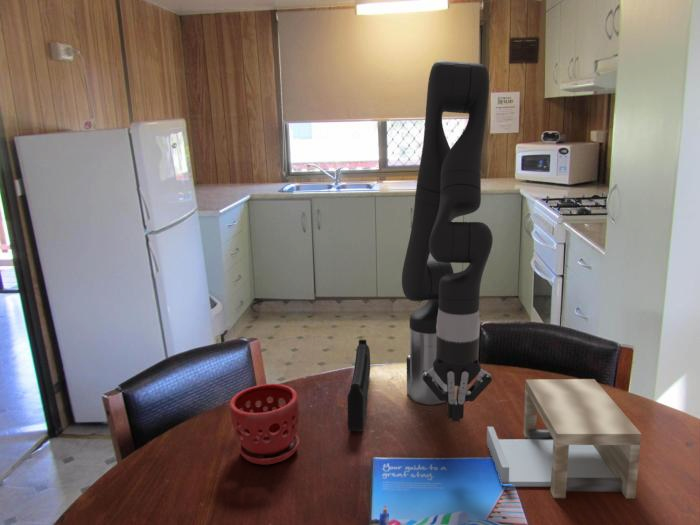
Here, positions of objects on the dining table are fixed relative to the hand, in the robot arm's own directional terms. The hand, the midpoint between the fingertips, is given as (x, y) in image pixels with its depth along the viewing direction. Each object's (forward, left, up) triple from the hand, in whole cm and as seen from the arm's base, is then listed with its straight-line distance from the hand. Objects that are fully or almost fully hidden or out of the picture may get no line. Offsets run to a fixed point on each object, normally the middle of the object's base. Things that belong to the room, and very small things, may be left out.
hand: (455, 419), depth 106 cm
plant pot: (-28, -23, -9) cm, 38 cm away
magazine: (-31, +4, -9) cm, 32 cm away
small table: (+16, +15, -9) cm, 24 cm away
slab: (+12, +12, -9) cm, 19 cm away
